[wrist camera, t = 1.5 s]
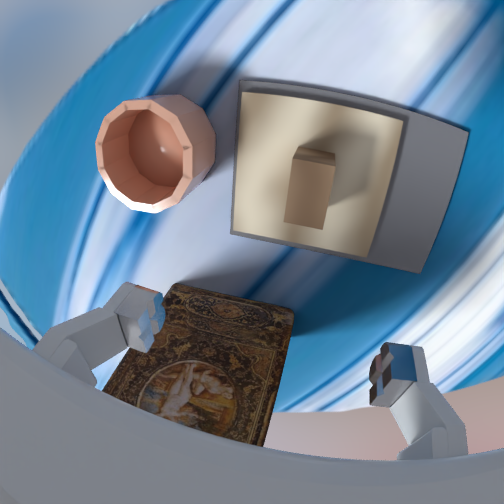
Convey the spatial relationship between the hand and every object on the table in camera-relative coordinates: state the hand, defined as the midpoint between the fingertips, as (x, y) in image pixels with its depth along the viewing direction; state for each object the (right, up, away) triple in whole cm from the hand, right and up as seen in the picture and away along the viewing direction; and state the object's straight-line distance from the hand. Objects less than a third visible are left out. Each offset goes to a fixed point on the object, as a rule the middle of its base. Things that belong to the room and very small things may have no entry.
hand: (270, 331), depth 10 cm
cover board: (+4, +9, +14) cm, 18 cm away
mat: (+8, +9, +14) cm, 18 cm away
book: (-4, -5, +27) cm, 27 cm away
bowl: (-9, +13, +16) cm, 23 cm away
